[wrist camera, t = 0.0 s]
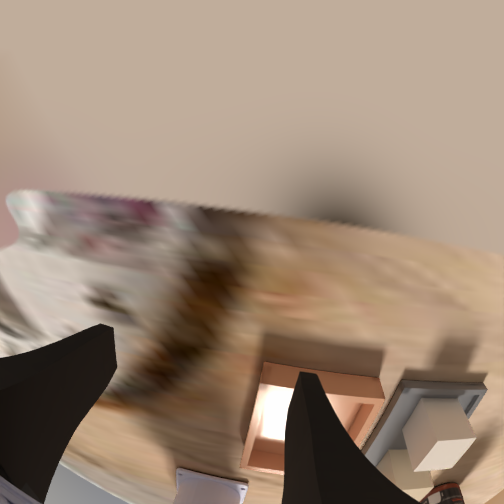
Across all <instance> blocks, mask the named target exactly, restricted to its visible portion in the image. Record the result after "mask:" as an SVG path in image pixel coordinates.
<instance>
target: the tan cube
mask: <svg viewBox="0 0 504 504" xmlns="http://www.w3.org/2000/svg"><path fill="white" fill-rule="evenodd" d="M376 468H377V469H378V470H379V471H380V472H381V473H382V474H383V475H384V476H385V477H386V478H387V479H389V480H390V481H391V482H392V483H393V484H395V485H396V486H397V487H398V488H400V489H401V490H402V491H404V492H405V493H407V494H408V495H410V496H411V497H413V498H414V499H416V500H417V501H420V500H422V499H423V498H424V497H425V496H426V495H427V494H428V493H429V492H430V491H431V490H432V489H433V488H434V484H433V481H432V477H431V474H430V471H418V472H413V469H412V465H411V461H410V457H409V453H408V450H407V449H403V450H388V451H387V453H386V454H385V455H384V457H383V458H382V460H381V461H380V462H379V464H378V465H377V466H376Z"/></svg>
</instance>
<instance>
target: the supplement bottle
mask: <svg viewBox="0 0 504 504" xmlns="http://www.w3.org/2000/svg"><path fill="white" fill-rule="evenodd" d="M419 502H420V503H422V504H465V503H464V500H463V496H462V493H461V490H460V487H459V485H458V484H456V483H448V484H443V485H440V486H438V487H435V488H433V489H432V490H431V491H430V492H429V493H428V494H427V495H426V496H425V497H424V498H423V499H422V500H420V501H419Z"/></svg>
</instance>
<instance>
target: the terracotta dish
mask: <svg viewBox="0 0 504 504" xmlns="http://www.w3.org/2000/svg"><path fill="white" fill-rule="evenodd" d="M300 371H303V372H309V373H316V374H317V375H318V377H319V379H320V382H321V384H322V386H323V389H324V391H325V393H326V395H327V397H328V399H329V401H330V403H331V405H332V407H333V409H334V411H335V413H336V414H337V416H338V418H339V420H340V421H341V423H342V425H343V426H344V428H345V429H346V431H347V432H348V434H349V435H350V437H351V438H352V440H353V441H354V443H355V444H356V445H357V447H358V446H359V445H360V443H361V442H362V440H363V438H364V437H365V435H366V433H367V431H368V430H369V428H370V426H371V425H372V423H373V421H374V419H375V417H376V416H377V414H378V412H379V410H380V408H381V406H382V405H383V403H384V401H385V396H384V392H383V389H382V386H381V382H380V379H379V378H377V377H367V376H358V375H349V374H341V373H333V372H326V371H319V370H312V369H305V368H299V367H293V366H287V365H281V364H275V363H270V362H264V363H263V368H262V372H261V377H260V381H259V386H258V390H257V394H256V399H255V403H254V407H253V411H252V416H251V420H250V424H249V428H248V432H247V437H246V441H245V445H244V449H243V454H242V459H241V463H240V468H244V469H249V470H255V471H261V472H268V473H275V474H282V475H284V442H285V425H286V418H287V410H288V407H289V404H290V400H291V397H292V394H293V391H294V388H295V385H296V382H297V378H298V375H299V372H300Z"/></svg>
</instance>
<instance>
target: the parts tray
mask: <svg viewBox="0 0 504 504" xmlns="http://www.w3.org/2000/svg"><path fill="white" fill-rule="evenodd" d="M487 390H488V389H487V388H486V386H485V385H484V383H456V382H430V381H413V380H401V382H400V384H399V386H398V388H397V390H396V392H395V394H394V396H393V397H392V399H391V401H390V403H389V405H388V407H387V409H386V410H385V412H384V414H383V416H382V418H381V419H380V421H379V423H378V424H377V426H376V428H375V430H374V431H373V433H372V435H371V436H370V438H369V440H368V441H367V443H366V444H365V446H364V448H363V449H362V451H361V452H362V453H363V454H364V455H365V456H366V458H367V459H368V460H369V461H370V462H371V463H372V464H373V465H374V466H375V467H376V466H377V465H378V464H379V462H380V461H381V460H382V458H383V457H384V455H385V454H386V453H387V451H388V450H403V449H407V446H406V442H405V439H404V435H403V431H402V429H403V427H404V426H405V424H406V423H407V421H408V419H409V418H410V416H411V415H412V413H413V411H414V410H415V408H416V406H417V404H418V403H419V401H420V399H421V398H449V399H457V398H458V400H459V402H460V404H461V406H462V408H463V410H464V412H465V414H466V416H467V418H468V419H469V418H470V416H471V415H472V413H473V412H474V410H475V409H476V407H477V406H478V404H479V403H480V401H481V399H482V398H483V396H484V395H485V393H486V391H487Z"/></svg>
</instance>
